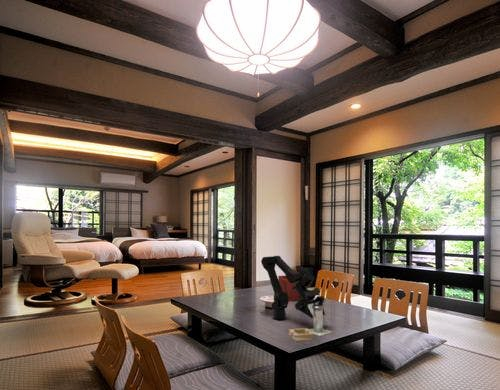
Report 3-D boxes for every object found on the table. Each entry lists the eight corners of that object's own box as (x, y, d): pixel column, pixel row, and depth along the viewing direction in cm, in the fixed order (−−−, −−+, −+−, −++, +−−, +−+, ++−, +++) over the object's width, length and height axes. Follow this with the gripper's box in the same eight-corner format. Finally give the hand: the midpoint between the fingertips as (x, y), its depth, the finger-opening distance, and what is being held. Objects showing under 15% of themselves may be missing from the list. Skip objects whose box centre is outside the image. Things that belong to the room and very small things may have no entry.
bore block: (288, 335, 168) (288, 329, 168) (306, 333, 170) (306, 327, 171) (295, 342, 158) (295, 335, 159) (314, 340, 161) (314, 334, 161)
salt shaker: (312, 332, 171) (311, 307, 172) (313, 328, 176) (312, 304, 177) (323, 333, 169) (322, 307, 170) (324, 329, 175) (323, 305, 176)
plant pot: (278, 297, 256) (277, 275, 258) (301, 296, 260) (300, 274, 261) (284, 302, 238) (284, 279, 239) (309, 301, 241) (309, 278, 243)
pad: (305, 331, 174) (305, 330, 174) (317, 328, 180) (317, 327, 180) (319, 336, 166) (319, 335, 166) (332, 332, 172) (332, 331, 172)
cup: (319, 312, 212) (319, 295, 213) (323, 316, 202) (323, 298, 203) (304, 312, 212) (304, 295, 213) (308, 316, 202) (307, 298, 203)
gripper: (298, 284, 173) (314, 310, 164) (321, 281, 184) (338, 305, 175) (288, 297, 179) (303, 322, 169) (311, 292, 190) (326, 316, 180)
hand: (318, 316), depth 173 cm, fingers open, 9 cm apart
